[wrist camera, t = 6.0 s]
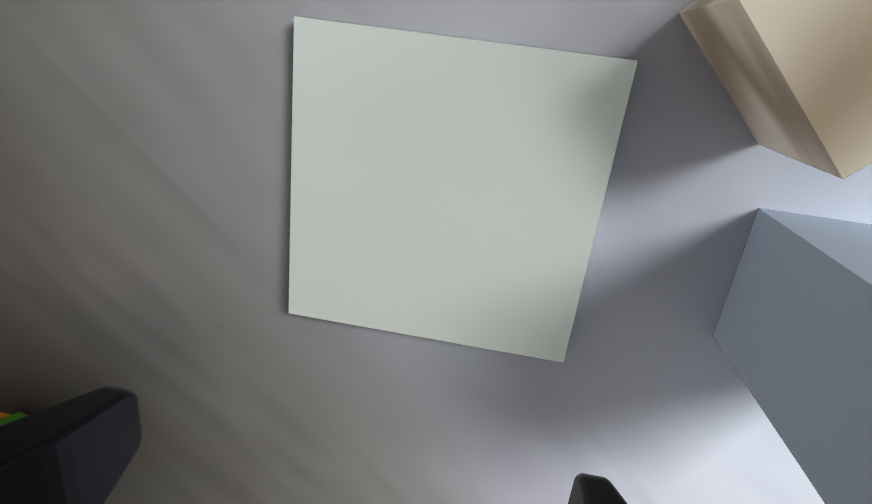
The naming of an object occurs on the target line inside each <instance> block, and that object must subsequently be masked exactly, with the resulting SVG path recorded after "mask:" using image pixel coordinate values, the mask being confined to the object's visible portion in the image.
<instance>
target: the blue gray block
mask: <svg viewBox="0 0 872 504" xmlns="http://www.w3.org/2000/svg"><path fill="white" fill-rule="evenodd" d="M713 337H714V338H715V340H716V341H717V343H718V344H719V345H720V347H721V348H722V350H723V351H724V353H725V354H726V356H727V357H728V359H729V360H730V362H731V363H732V365H733V366H734V368H735V369H736V371H737V372H738V374H739V375H740V377H741V378H742V380H743V381H744V383H745V384H746V386H747V387H748V389H749V390H750V392H751V393H752V395H753V396H754V398H755V399H756V401H757V402H758V404H759V405H760V407H761V408H762V410H763V411H764V413H765V414H766V416H767V417H768V419H769V420H770V422H771V423H772V425H773V426H774V428H775V429H776V431H777V432H778V434H779V435H780V437H781V438H782V440H783V441H784V443H785V444H786V446H787V447H788V449H789V450H790V452H791V453H792V455H793V456H794V458H795V459H796V461H797V462H798V464H799V465H800V467H801V468H802V470H803V471H804V473H805V474H806V476H807V477H808V479H809V480H810V482H811V483H812V485H813V486H814V488H815V489H816V491H817V492H818V494H819V495H820V497H821V498H822V500H823V501H824V503H825V504H872V225H869V224H862V223H856V222H849V221H842V220H835V219H828V218H822V217H815V216H808V215H801V214H795V213H788V212H781V211H774V210H767V209H761V208H759V209H758V211H757V214H756V217H755V220H754V223H753V225H752V228H751V231H750V234H749V237H748V239H747V242H746V245H745V248H744V251H743V253H742V256H741V259H740V262H739V265H738V267H737V270H736V273H735V276H734V279H733V281H732V284H731V287H730V290H729V292H728V295H727V298H726V301H725V304H724V306H723V309H722V312H721V315H720V318H719V320H718V323H717V326H716V329H715V332H714V334H713Z"/></svg>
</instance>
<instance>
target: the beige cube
mask: <svg viewBox="0 0 872 504" xmlns="http://www.w3.org/2000/svg"><path fill="white" fill-rule="evenodd" d="M678 13H679V15H680V16H681V18H682V20H683V21H684V23H685V24H686V26H687V28H688V29H689V31H690V33H691V34H692V36H693V38H694V39H695V41H696V43H697V44H698V46H699V48H700V49H701V51H702V52H703V54H704V56H705V57H706V59H707V61H708V62H709V64H710V66H711V67H712V69H713V71H714V72H715V74H716V75H717V77H718V79H719V80H720V82H721V84H722V85H723V87H724V89H725V90H726V92H727V94H728V95H729V97H730V98H731V100H732V102H733V103H734V105H735V107H736V108H737V110H738V112H739V113H740V115H741V117H742V118H743V120H744V122H745V123H746V125H747V126H748V128H749V130H750V131H751V133H752V135H753V136H754V138H755V140H756V141H757V143H758V144H759V145H761V146H764V147H766V148H769V149H771V150H774V151H776V152H778V153H781V154H783V155H786V156H788V157H791V158H793V159H795V160H798V161H800V162H803V163H805V164H808V165H810V166H813V167H815V168H817V169H820V170H822V171H825V172H827V173H830V174H832V175H834V176H837V177H839V178H842V179H844V178H846V177H848V176H849V175H851V174H853V173H855V172H856V171H858V170H860V169H862V168H863V167H865V166H867V165H869V164H871V163H872V0H695V1H693V2H692V3H691V4H689V5H688V6H687V7H685V8H684V9H682V10H681V11H680V12H678Z"/></svg>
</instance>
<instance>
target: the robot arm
mask: <svg viewBox="0 0 872 504" xmlns="http://www.w3.org/2000/svg"><path fill="white" fill-rule="evenodd" d="M140 441H141V424H140V415H139V406H138V398H137V395H136V394H135V392H133V391H131V390H128V389H123V388H118V387H112V386H106V387H102V388H99V389H97V390H94V391H91V392H89V393H86V394H83V395H81V396H78V397H76V398H73V399H70V400H68V401H65V402H62V403H60V404H57V405H54V406H52V407H49V408H46V409H44V410H41V411H38V412H36V413H33V414H30V415H28V416H25V417H22V418H20V419H17V420H14V421H12V422H9V423H7V424H4V425H1V426H0V504H104V503H105V501H106V500H107V498H108V496H109V495H110V493H111V492H112V490H113V488H114V487H115V485H116V484H117V482H118V480H119V479H120V477H121V476H122V474H123V472H124V471H125V469H126V468H127V466H128V465H129V463H130V461H131V460H132V458H133V457H134V455H135V453H136V452H137V450H138V447H139V445H140ZM568 504H627V503H626V501H625V500H624V499H623V497H622V496H621V495H620V493H619V492H618V491H617V490H616V488H615V487H614V486H613V484H612V483H611V482H610V481H609V480H608V479H606V478H604V477H600V476H594V475H589V474H584V473H580V474H578V475H577V476H576V478H575V480H574V483H573V487H572V490H571V494H570V498H569V502H568Z"/></svg>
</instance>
